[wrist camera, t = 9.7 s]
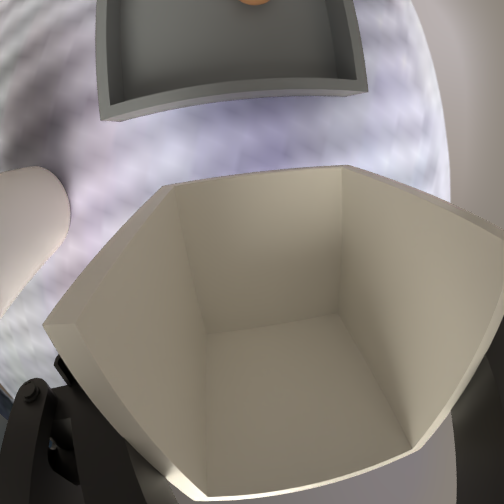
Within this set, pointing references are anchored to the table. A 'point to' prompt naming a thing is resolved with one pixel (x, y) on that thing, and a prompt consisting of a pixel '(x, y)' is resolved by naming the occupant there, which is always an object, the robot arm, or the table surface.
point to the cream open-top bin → (282, 326)
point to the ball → (254, 2)
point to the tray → (222, 52)
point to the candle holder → (29, 226)
